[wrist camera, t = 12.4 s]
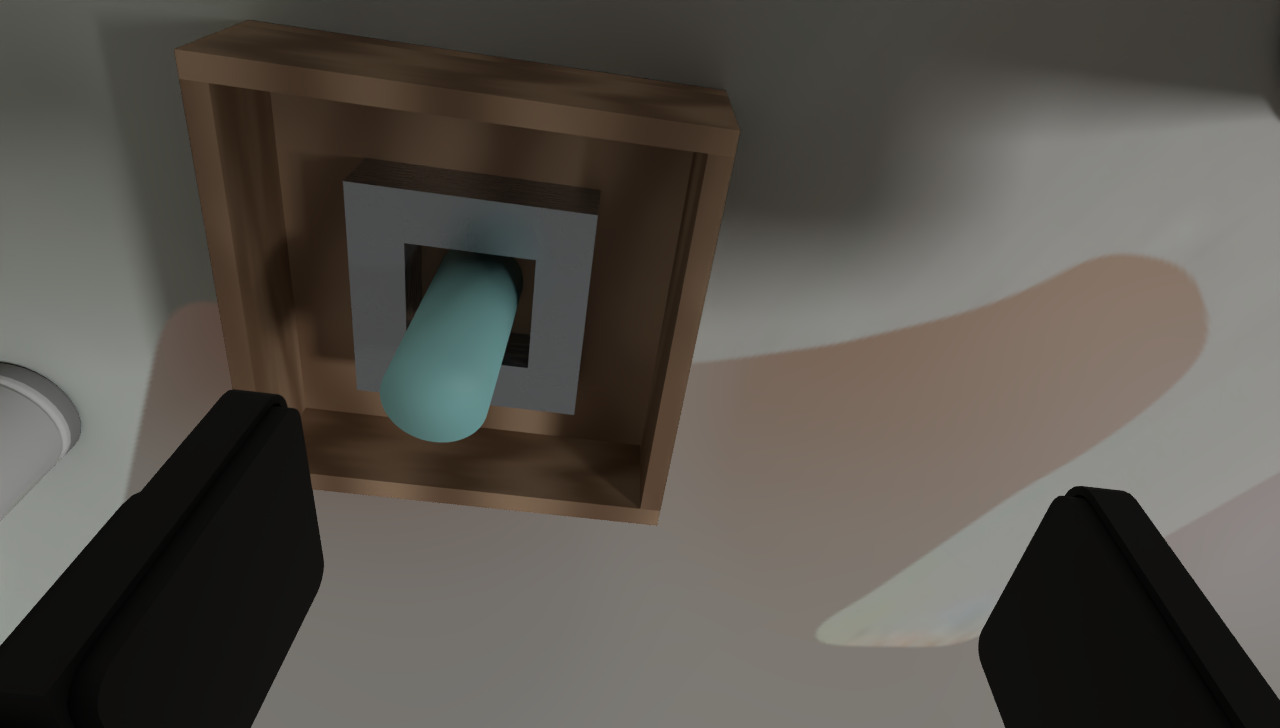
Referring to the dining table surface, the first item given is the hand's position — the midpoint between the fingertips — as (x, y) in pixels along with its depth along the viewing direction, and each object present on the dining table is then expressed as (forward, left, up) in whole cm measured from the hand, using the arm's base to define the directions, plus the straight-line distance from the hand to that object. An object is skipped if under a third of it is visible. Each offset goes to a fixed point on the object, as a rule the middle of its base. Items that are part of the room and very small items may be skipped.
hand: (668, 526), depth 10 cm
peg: (+7, +11, -26) cm, 29 cm away
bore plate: (+7, +11, -27) cm, 30 cm away
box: (+7, +11, -27) cm, 30 cm away
